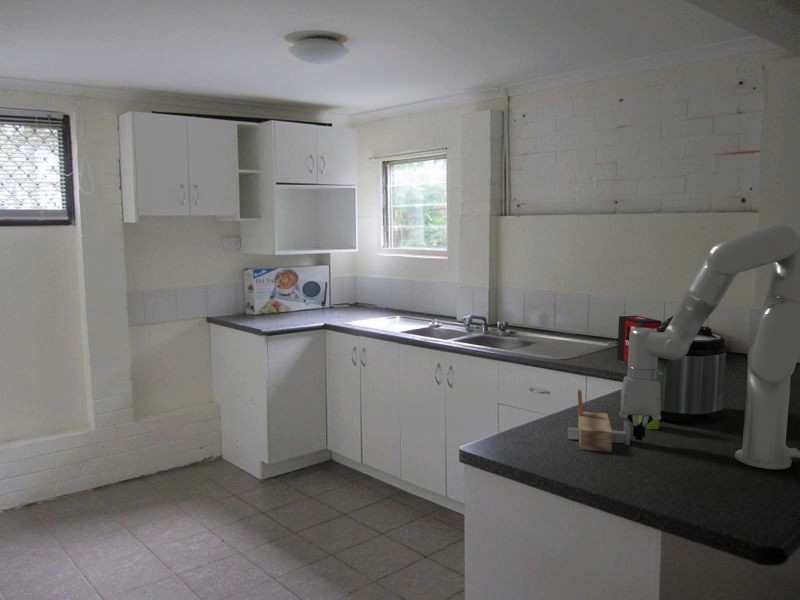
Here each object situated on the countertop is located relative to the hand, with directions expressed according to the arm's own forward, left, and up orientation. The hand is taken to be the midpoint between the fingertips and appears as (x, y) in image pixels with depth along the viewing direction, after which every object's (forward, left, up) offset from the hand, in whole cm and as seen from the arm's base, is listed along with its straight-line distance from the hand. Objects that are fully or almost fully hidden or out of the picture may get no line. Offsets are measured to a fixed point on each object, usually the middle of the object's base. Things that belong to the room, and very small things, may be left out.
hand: (638, 438), depth 183 cm
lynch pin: (+11, 0, -1) cm, 11 cm away
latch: (+15, -6, +8) cm, 18 cm away
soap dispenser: (-4, -17, -2) cm, 18 cm away
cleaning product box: (-12, -109, -2) cm, 110 cm away
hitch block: (+12, 0, -1) cm, 12 cm away
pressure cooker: (-15, -35, -2) cm, 38 cm away
